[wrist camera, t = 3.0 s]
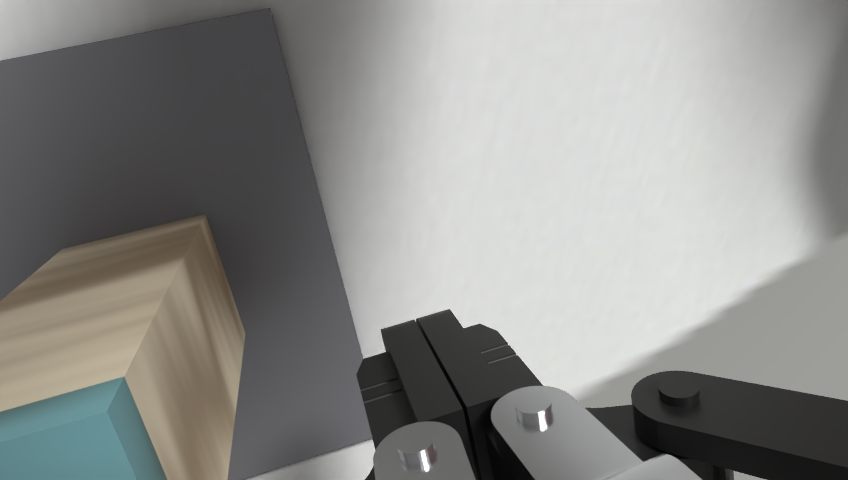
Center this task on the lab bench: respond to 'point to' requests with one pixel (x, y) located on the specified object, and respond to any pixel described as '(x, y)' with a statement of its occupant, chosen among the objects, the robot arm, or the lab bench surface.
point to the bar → (122, 361)
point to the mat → (194, 205)
